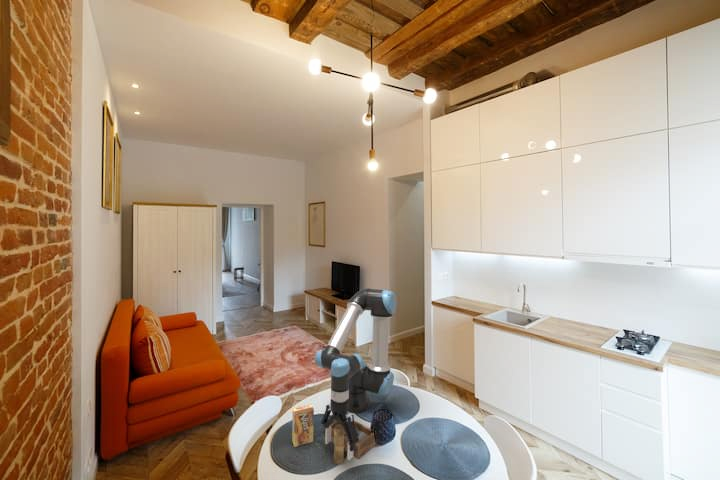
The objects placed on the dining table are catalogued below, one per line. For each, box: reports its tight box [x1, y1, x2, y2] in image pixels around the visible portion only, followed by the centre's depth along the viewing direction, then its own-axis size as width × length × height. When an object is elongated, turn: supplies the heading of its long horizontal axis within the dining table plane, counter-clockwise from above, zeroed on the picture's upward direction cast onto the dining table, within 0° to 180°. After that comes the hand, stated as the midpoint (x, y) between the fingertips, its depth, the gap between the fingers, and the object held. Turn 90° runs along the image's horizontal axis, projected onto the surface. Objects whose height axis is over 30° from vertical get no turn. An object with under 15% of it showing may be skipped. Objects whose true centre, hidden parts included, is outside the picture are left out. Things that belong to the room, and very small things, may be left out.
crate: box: [329, 419, 377, 460], centre depth 135 cm, size 19×12×6 cm, turn 49°
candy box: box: [291, 404, 315, 448], centre depth 134 cm, size 9×4×15 cm, turn 116°
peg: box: [333, 424, 345, 465], centre depth 123 cm, size 4×4×14 cm
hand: (338, 449), depth 123 cm, fingers open, 12 cm apart
